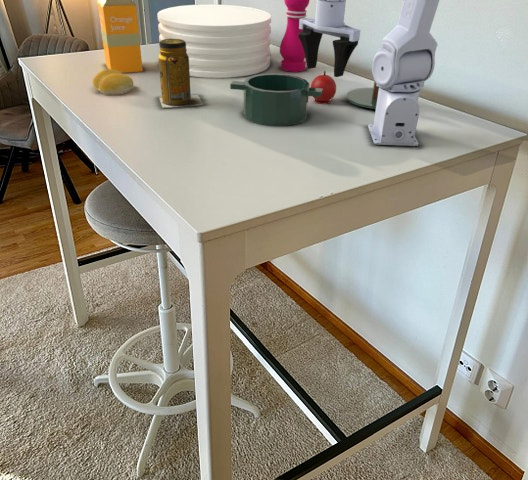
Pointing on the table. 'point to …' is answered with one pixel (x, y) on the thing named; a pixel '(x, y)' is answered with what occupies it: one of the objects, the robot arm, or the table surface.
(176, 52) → the condiment
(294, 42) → the pepper mill
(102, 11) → the orange juice
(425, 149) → the table surface
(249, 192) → the table surface
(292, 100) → the pot
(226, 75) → the plate stack
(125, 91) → the bread roll
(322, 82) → the apple
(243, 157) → the table surface
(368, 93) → the lid
